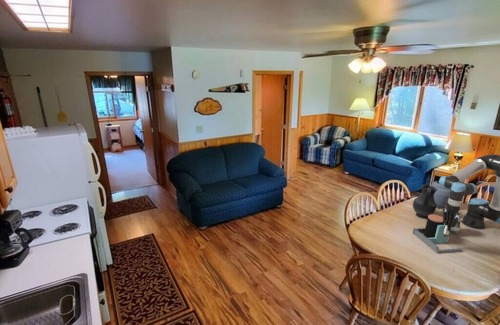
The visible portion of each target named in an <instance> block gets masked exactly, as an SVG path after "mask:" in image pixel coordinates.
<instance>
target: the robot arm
mask: <svg viewBox="0 0 500 325" xmlns="http://www.w3.org/2000/svg"><path fill="white" fill-rule="evenodd" d="M485 170H491V171H494V175H495V177H496V180H495V184H494V188H493V189H494V190H493V195H492V201H491V202H490V201H489V200H487V199H485V198H480V197H474V198H471V199H470V200H469V203H468V207H467V210H466V214H465V215H464V216H462V217H463V221H462V222H461V223H462V224H463V225H464V226H466V227H469V228H472V229H475V230H476V229H477V230H482V229H485V225H486V224H485V219H487V220H489V221H492V222H494V223H496V224H499V225H500V154H492V153H491V154H485V155H482V156H479V157H476V158H475V159H473V160H472V162H471V163H469V164H467V165H466V166H464V167H463V168H461V169H460V170H458V171H456V172H454V173H452V174H451V175H449V176H445V175H443V176H442V175H441V177H440V178H439V180H438V181H439V184H440V185H442V186H444V187H446V188H449V189H451V191H450V195H449V199H448V203H447V205H446V206H445V208H443V209H442V212H443V214H442V217H443V223H445V227H444V228H445V229H444V235H449V231H450V230H451V227H455V225H456V223H457V222H458V220H459V219H460V217H458V212H460V210H461V206H462V203H463V198H464V197H465V196H471V195H475V194H476V193H477V192H478V187H477V185H476V184H474V183H472V182H471V183H466V182H464V181H466V180H468V179H469V178H471V177H472V176H474V175H475V174H477V173H479V172H481V171H485Z"/></svg>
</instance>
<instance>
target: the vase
mask: <svg viewBox="0 0 500 325" xmlns="http://www.w3.org/2000/svg"><path fill="white" fill-rule="evenodd" d="M430 185H431V186H435V187H436V188H437V189H438V190H437V191H436V192H435V193H434V201H435V203H436V204H437V207H436V209H442V208H443V209H444V207H445V208H446V206H447V203H448V199H449V195H450V191H451V189H449V188H446V187H444V186H442V185H440V184H439V180H436V181H435V180H434V181H433V182H432V184H430Z"/></svg>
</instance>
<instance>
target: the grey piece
mask: <svg viewBox="0 0 500 325" xmlns="http://www.w3.org/2000/svg"><path fill="white" fill-rule="evenodd" d="M424 231H425V227H417V228H414V227H413V230H412V235H414V236H416V238H417V239H419V240H420V241H421V242H422V243H424V244H425V245H426V246H427V247H429V248H430V250H432V251H433V252H434V253H436V254H444V253H445V254H446V253H447V254H448V253H460V252H462V251H463V248H461V247H458V248H456V247H455V248H446V249H445V248H444V249H439V246H438V245H437V243H433V242H432V241H430V240H429V239H428V238H427V237H425V236H424Z"/></svg>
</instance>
